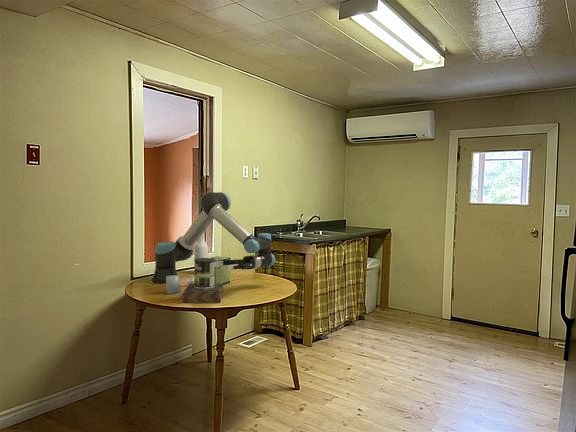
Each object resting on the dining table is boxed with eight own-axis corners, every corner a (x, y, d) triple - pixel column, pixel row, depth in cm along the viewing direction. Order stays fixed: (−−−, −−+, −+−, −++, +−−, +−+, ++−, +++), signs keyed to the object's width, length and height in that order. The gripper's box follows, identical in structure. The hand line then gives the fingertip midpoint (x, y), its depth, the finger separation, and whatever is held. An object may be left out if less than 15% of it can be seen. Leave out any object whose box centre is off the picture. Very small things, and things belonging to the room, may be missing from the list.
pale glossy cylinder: (164, 294, 225) (164, 277, 225) (167, 291, 232) (167, 275, 232) (178, 294, 226) (178, 277, 225) (180, 291, 233) (180, 275, 232)
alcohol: (195, 272, 290) (195, 227, 288) (208, 272, 290) (208, 228, 289) (193, 274, 281) (193, 229, 279) (206, 274, 281) (207, 229, 280)
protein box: (230, 282, 257) (231, 257, 257) (215, 287, 243) (216, 260, 243) (216, 281, 262) (216, 255, 261) (200, 285, 248) (201, 259, 247)
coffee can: (200, 290, 211) (201, 261, 210) (190, 286, 218) (190, 259, 218) (218, 287, 218) (218, 259, 217) (207, 283, 225) (207, 257, 225)
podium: (183, 302, 209) (183, 290, 209) (188, 294, 227) (188, 283, 226) (220, 302, 210) (220, 290, 210) (223, 294, 228) (223, 283, 228)
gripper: (265, 272, 231) (234, 276, 216) (237, 265, 248) (206, 269, 234) (266, 258, 230) (234, 262, 215) (237, 253, 248) (206, 256, 233)
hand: (219, 266), depth 224 cm, fingers open, 13 cm apart
